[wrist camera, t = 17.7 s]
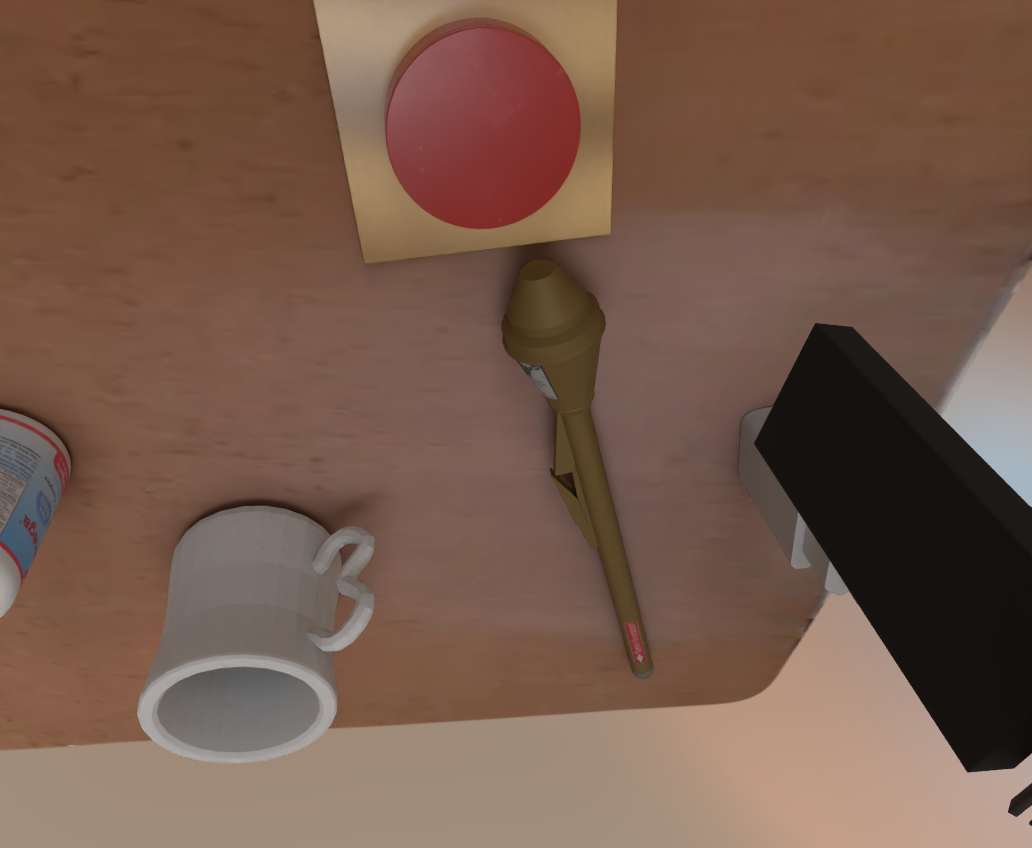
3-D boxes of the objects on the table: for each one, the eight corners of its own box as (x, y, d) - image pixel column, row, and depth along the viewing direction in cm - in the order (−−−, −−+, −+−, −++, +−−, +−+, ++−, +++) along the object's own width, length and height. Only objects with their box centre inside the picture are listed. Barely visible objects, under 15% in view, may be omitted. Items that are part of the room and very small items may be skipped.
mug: (255, 626, 46) (235, 785, 39) (137, 550, 41) (86, 717, 33) (419, 536, 44) (433, 686, 36) (317, 441, 38) (308, 594, 31)
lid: (602, 147, 31) (614, 162, 30) (456, 245, 33) (460, 264, 31) (508, -28, 27) (516, -20, 25) (344, 96, 28) (343, 109, 27)
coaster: (307, -30, 26) (307, -29, 26) (616, -56, 27) (619, -55, 27) (364, 260, 33) (364, 264, 32) (608, 230, 34) (610, 234, 34)
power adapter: (795, 401, 42) (918, 561, 33) (786, 470, 46) (895, 633, 36) (741, 412, 42) (850, 577, 33) (736, 481, 46) (834, 647, 36)
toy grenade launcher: (667, 633, 57) (605, 646, 57) (583, 228, 33) (480, 255, 34) (682, 692, 53) (617, 705, 54) (601, 285, 30) (486, 315, 30)
